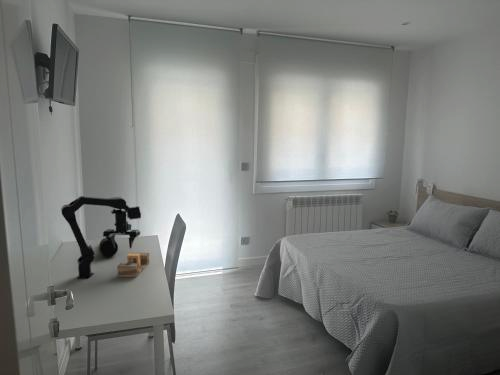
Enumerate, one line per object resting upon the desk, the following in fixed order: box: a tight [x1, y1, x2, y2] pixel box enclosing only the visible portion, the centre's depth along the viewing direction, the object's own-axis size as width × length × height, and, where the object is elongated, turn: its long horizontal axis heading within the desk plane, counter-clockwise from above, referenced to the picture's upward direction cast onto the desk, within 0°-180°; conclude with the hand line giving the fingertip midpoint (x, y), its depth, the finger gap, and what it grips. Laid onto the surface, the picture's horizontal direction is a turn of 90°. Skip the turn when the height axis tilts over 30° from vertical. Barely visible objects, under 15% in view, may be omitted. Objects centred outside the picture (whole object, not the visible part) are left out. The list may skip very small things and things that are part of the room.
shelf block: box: [116, 252, 150, 278], centre depth 192 cm, size 20×10×7 cm, turn 177°
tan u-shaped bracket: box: [126, 253, 141, 266], centre depth 192 cm, size 6×3×6 cm, turn 87°
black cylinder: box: [98, 236, 119, 258], centre depth 227 cm, size 10×34×10 cm, turn 23°
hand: (122, 248), depth 193 cm, fingers open, 9 cm apart
